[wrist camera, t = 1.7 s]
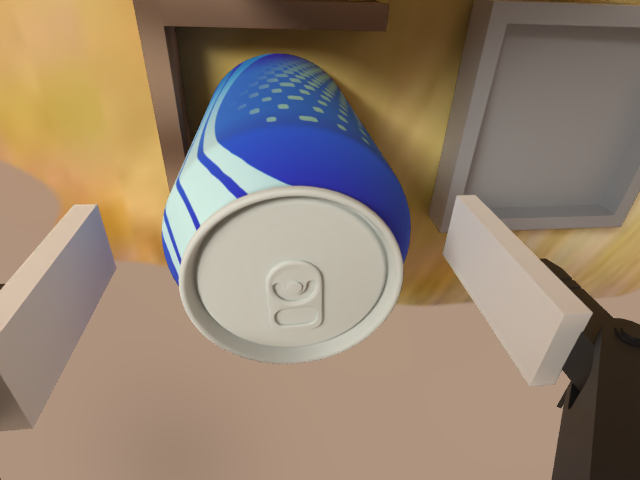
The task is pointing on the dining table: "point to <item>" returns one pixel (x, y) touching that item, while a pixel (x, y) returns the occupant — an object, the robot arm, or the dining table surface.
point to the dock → (234, 12)
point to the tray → (545, 115)
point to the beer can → (285, 218)
